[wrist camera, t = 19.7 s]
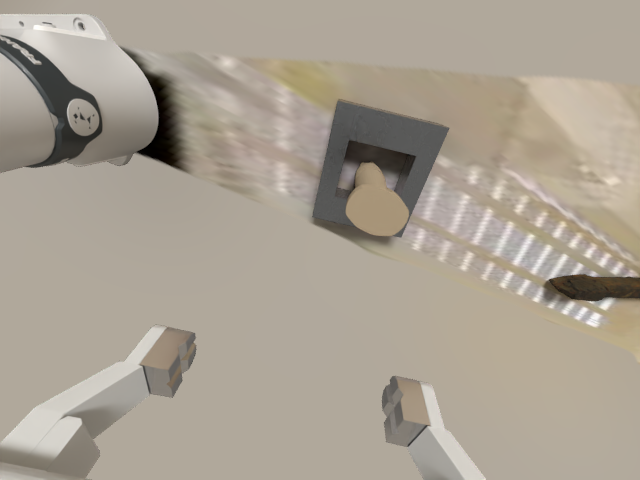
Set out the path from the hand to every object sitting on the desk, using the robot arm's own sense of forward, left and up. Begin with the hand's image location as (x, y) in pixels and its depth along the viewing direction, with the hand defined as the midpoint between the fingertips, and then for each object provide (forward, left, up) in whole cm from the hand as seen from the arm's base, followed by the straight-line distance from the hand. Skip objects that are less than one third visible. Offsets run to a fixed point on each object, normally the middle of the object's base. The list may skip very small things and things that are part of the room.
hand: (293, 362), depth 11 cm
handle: (+5, 0, -33) cm, 34 cm away
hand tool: (+51, -10, -34) cm, 62 cm away
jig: (+6, 0, -33) cm, 34 cm away
